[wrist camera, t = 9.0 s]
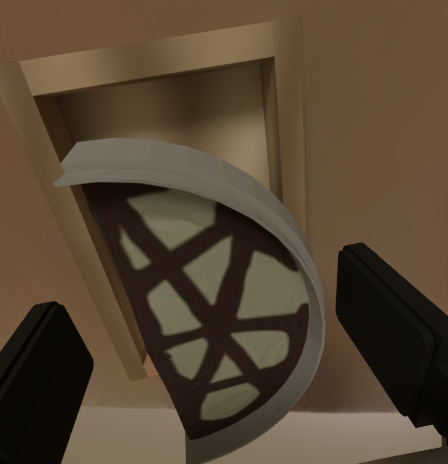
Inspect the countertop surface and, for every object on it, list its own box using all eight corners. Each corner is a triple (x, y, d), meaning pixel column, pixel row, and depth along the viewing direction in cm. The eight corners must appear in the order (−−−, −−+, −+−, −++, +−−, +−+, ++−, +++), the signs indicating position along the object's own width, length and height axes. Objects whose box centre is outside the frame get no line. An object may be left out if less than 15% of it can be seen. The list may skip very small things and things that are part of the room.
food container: (271, 285, 20) (342, 436, 11) (187, 305, 20) (189, 475, 11) (247, 97, 15) (348, 93, 6) (130, 121, 14) (40, 157, 5)
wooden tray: (276, 34, 14) (301, 16, 11) (292, 309, 22) (308, 342, 19) (29, 73, 14) (-14, 66, 11) (137, 342, 22) (130, 381, 19)
